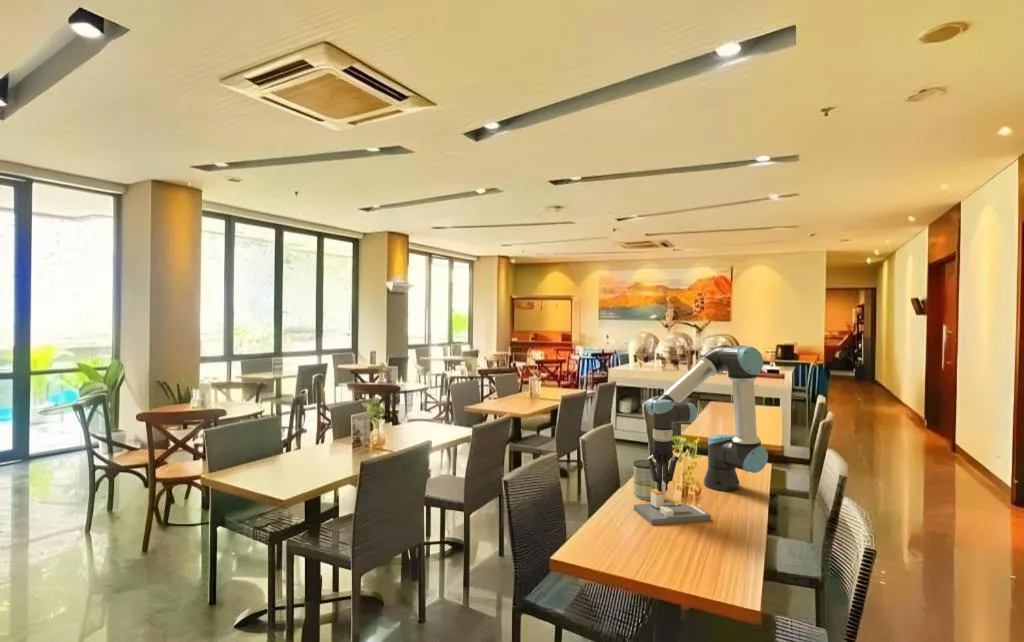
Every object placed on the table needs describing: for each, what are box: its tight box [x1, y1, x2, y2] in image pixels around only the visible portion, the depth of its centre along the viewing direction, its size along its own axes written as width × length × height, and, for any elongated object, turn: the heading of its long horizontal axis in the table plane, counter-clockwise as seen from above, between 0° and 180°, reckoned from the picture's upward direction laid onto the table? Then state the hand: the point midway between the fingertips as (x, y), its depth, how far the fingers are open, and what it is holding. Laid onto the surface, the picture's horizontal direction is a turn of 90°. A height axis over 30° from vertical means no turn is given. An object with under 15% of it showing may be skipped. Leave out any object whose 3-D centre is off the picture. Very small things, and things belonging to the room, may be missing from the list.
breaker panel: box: [633, 501, 712, 526], centre depth 209 cm, size 24×16×4 cm, turn 101°
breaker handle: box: [650, 489, 665, 508], centre depth 213 cm, size 3×5×6 cm, turn 11°
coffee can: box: [632, 459, 657, 500], centre depth 232 cm, size 10×10×14 cm
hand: (662, 499), depth 213 cm, fingers closed
